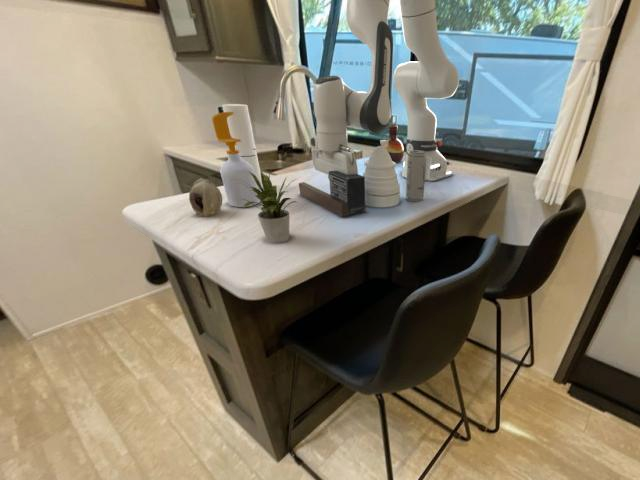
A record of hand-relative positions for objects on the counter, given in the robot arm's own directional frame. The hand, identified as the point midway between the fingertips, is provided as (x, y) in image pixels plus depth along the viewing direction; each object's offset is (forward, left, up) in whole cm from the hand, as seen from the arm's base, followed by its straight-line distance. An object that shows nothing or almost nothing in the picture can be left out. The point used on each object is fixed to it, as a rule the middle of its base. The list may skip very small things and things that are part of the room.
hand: (336, 190), depth 103 cm
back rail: (+6, +1, -4) cm, 7 cm away
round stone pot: (+35, -10, -4) cm, 37 cm away
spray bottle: (+24, -14, -4) cm, 28 cm away
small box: (+1, +9, -4) cm, 9 cm away
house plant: (+28, +16, -4) cm, 32 cm away
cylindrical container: (+16, -29, -4) cm, 34 cm away
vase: (-56, -38, -4) cm, 68 cm away
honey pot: (-12, +8, -4) cm, 15 cm away
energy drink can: (-23, +13, -4) cm, 26 cm away
